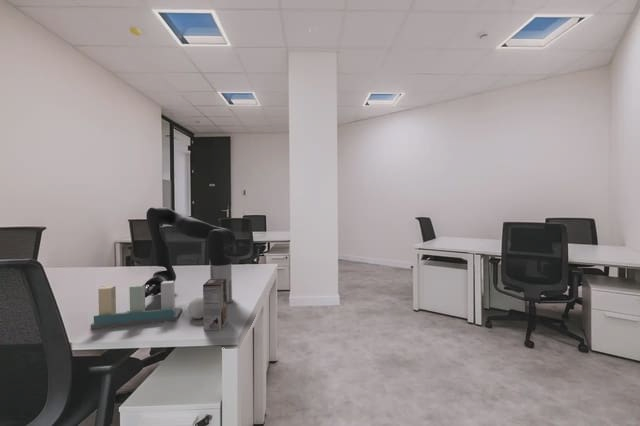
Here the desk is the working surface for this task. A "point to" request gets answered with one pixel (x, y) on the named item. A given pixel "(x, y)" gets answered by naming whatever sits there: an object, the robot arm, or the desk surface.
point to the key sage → (137, 298)
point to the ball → (196, 308)
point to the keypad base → (135, 318)
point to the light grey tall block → (167, 295)
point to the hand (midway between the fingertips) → (144, 295)
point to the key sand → (107, 300)
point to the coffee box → (215, 304)
